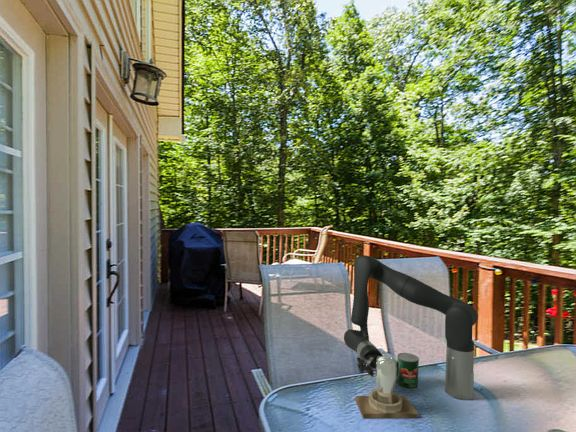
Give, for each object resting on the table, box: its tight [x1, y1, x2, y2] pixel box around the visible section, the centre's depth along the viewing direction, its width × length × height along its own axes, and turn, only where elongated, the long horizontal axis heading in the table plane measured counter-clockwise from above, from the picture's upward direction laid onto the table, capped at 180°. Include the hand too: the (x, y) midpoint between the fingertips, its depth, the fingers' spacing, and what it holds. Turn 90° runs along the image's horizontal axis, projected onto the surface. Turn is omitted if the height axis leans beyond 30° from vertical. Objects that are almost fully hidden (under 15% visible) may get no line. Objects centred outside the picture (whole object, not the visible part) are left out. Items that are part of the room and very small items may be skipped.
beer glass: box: [374, 355, 397, 404], centre depth 122 cm, size 7×7×15 cm
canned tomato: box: [396, 352, 420, 391], centre depth 139 cm, size 8×8×11 cm
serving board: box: [354, 388, 419, 419], centre depth 122 cm, size 18×11×4 cm, turn 93°
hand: (384, 373), depth 123 cm, fingers open, 8 cm apart
